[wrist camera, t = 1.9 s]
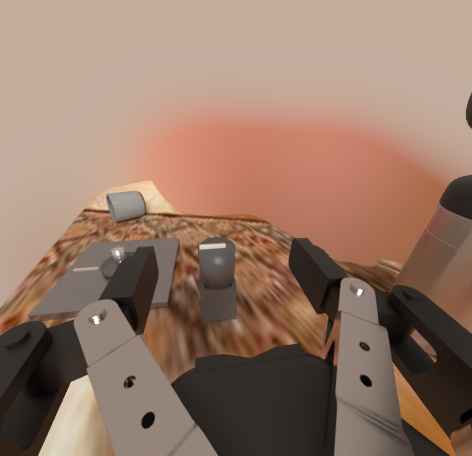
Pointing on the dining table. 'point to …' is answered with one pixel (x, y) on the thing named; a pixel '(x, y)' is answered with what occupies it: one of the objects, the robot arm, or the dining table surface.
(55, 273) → the dining table surface
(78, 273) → the base plate
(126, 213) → the ceramic mug
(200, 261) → the knob
